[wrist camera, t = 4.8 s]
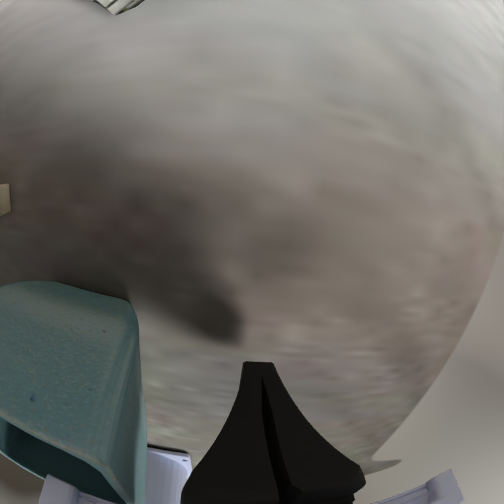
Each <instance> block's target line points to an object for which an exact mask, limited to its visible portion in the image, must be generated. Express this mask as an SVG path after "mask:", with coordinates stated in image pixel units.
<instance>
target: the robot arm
mask: <svg viewBox="0 0 504 504" xmlns="http://www.w3.org/2000/svg"><path fill="white" fill-rule="evenodd" d="M365 484H366V480H365V477H364V474H363V472H362V470H361V468H360V466H359V465H358V464H356V463H355V462H353V461H352V460H350V459H349V458H347V457H346V456H344V455H343V454H342V453H340V452H339V451H338V450H337V449H335V448H334V447H333V446H332V445H331V444H330V443H329V442H327V441H326V440H325V439H324V438H323V437H322V436H321V435H320V434H319V433H318V432H317V431H316V430H315V429H314V428H313V427H312V425H311V424H310V423H309V422H308V421H307V419H306V418H305V417H304V416H303V414H302V413H301V412H300V410H299V409H298V407H297V406H296V405H295V403H294V401H293V400H292V398H291V397H290V395H289V393H288V392H287V390H286V388H285V387H284V385H283V383H282V381H281V379H280V377H279V375H278V373H277V371H276V368H275V366H274V364H273V363H271V362H249V361H246V362H244V363H243V367H242V373H241V380H240V386H239V391H238V394H237V397H236V400H235V402H234V405H233V407H232V410H231V412H230V414H229V416H228V418H227V420H226V422H225V424H224V426H223V428H222V430H221V432H220V433H219V435H218V437H217V438H216V440H215V442H214V443H213V445H212V446H211V447H210V449H209V450H208V452H207V453H206V455H205V456H204V457H203V459H202V460H201V461H200V462H199V464H198V465H197V466H196V467H195V468H194V470H193V471H192V465H191V459H190V455H188V454H185V453H179V452H172V451H166V450H160V449H155V448H149V447H147V455H146V473H145V504H353V501H354V500H355V498H354V493H355V492H357V491H358V490H360V489H361V488H362V487H363V486H364V485H365ZM463 501H464V498H463V495H462V493H461V490H460V488H459V486H458V483H457V481H456V479H455V477H454V474H453V472H452V470H451V469H449V470H447V471H445V472H443V473H441V474H439V475H437V476H435V477H433V478H432V479H430V480H429V481H427V482H426V483H425V484H423V485H421V486H418V487H416V488H414V489H411V490H409V491H406V492H404V493H401V494H398V495H396V496H393V497H390V498H387V499H384V500H381V501H378V502H375V503H371V504H460V503H462V502H463ZM38 504H116V503H113V502H109V501H106V500H103V499H100V498H97V497H95V496H92V495H89V494H86V493H84V492H81V491H79V490H78V489H77V488H76V487H75V486H73V485H71V484H69V483H67V482H65V481H62V480H60V479H58V478H56V477H54V476H52V475H50V474H47V476H46V479H45V482H44V486H43V489H42V492H41V496H40V499H39V502H38Z"/></svg>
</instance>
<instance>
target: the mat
mask: <svg viewBox="0 0 504 504" xmlns="http://www.w3.org/2000/svg"><path fill="white" fill-rule="evenodd" d="M92 1H94V2H97V3H98V4H100V5H101V6H102V7H104V8H105V9H106V10H108V11H109V12H110V13H112V14H113V15H118V14H120V13H123V12H125V11H127V10H129V9H132V8H134V7H136V6H138V5H139V4H140V3H141V2H143V1H144V0H92Z"/></svg>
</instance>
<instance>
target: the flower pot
mask: <svg viewBox="0 0 504 504" xmlns="http://www.w3.org/2000/svg"><path fill="white" fill-rule="evenodd" d="M0 452H1V453H2V454H3V455H4V456H6V457H7V458H9V459H10V460H12V461H13V462H15V463H16V464H18V465H19V466H21V467H22V468H24V469H26V470H27V471H29V472H31V473H33V474H35V475H36V476H38V477H40V478H42V479H44V480H45V479H46V476H47V474H50V475H52V476H54V477H56V478H58V479H60V480H62V481H65V482H67V483H69V484H71V485H73V486H75V487H76V488H77V489H78V490H79V491H81V492H84V493H86V494H89V495H92V496H95V497H97V498H100V499H103V500H106V501H109V502H113V503H116V504H145V473H146V455H147V419H146V409H145V401H144V394H143V386H142V376H141V365H140V350H139V326H138V320H137V316H136V313H135V311H134V308H133V307H132V305H131V304H130V303H129V302H127V301H126V300H123V299H119V298H115V297H111V296H106V295H102V294H98V293H94V292H90V291H87V290H83V289H79V288H76V287H72V286H69V285H66V284H62V283H59V282H55V281H21V282H14V283H9V284H5V285H2V286H0Z"/></svg>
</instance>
